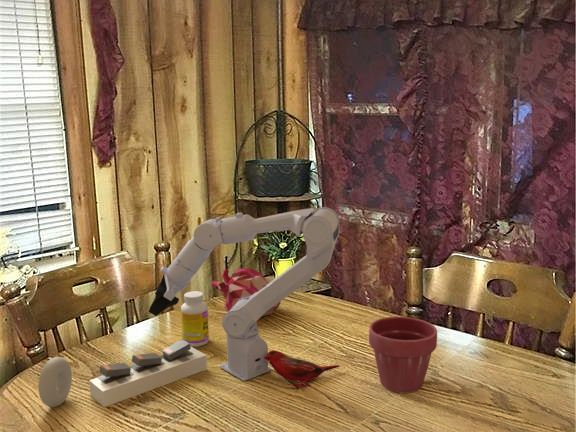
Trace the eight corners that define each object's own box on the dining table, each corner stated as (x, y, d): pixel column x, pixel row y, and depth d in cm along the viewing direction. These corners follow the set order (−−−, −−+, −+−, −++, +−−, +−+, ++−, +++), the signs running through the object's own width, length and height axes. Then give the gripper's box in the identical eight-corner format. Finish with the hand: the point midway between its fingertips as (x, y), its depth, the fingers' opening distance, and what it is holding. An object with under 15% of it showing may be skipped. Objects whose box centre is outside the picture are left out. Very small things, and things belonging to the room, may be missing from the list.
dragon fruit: (274, 299, 186) (211, 278, 182) (289, 272, 178) (223, 250, 174) (269, 335, 175) (202, 314, 171) (285, 308, 167) (215, 285, 164)
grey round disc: (61, 391, 133) (57, 348, 131) (76, 392, 133) (72, 349, 130) (37, 416, 123) (32, 369, 121) (54, 417, 123) (49, 370, 121)
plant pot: (412, 364, 144) (413, 311, 141) (448, 391, 131) (451, 334, 128) (357, 375, 138) (357, 321, 136) (389, 404, 126) (390, 345, 123)
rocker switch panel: (206, 369, 142) (206, 353, 141) (104, 407, 126) (102, 389, 125) (191, 360, 147) (190, 344, 146) (90, 395, 131) (89, 378, 130)
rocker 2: (161, 363, 137) (162, 357, 137) (138, 366, 134) (139, 359, 134) (153, 358, 140) (154, 352, 140) (131, 361, 136) (132, 354, 136)
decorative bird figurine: (267, 390, 132) (260, 355, 140) (345, 391, 136) (334, 357, 145) (270, 381, 130) (263, 346, 138) (348, 382, 135) (337, 348, 143)
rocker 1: (130, 374, 133) (130, 367, 132) (105, 377, 129) (106, 370, 129) (123, 369, 135) (124, 362, 135) (99, 372, 131) (100, 365, 131)
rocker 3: (190, 348, 142) (189, 343, 142) (170, 360, 139) (169, 354, 138) (183, 344, 144) (182, 338, 144) (163, 355, 141) (161, 350, 141)
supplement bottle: (206, 347, 154) (204, 298, 151) (180, 347, 154) (177, 298, 151) (210, 336, 161) (208, 289, 158) (185, 337, 161) (182, 289, 158)
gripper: (177, 239, 146) (147, 280, 150) (167, 268, 133) (134, 312, 137) (202, 255, 148) (171, 295, 152) (194, 285, 134) (161, 328, 139)
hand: (155, 304), depth 145 cm, fingers open, 7 cm apart
